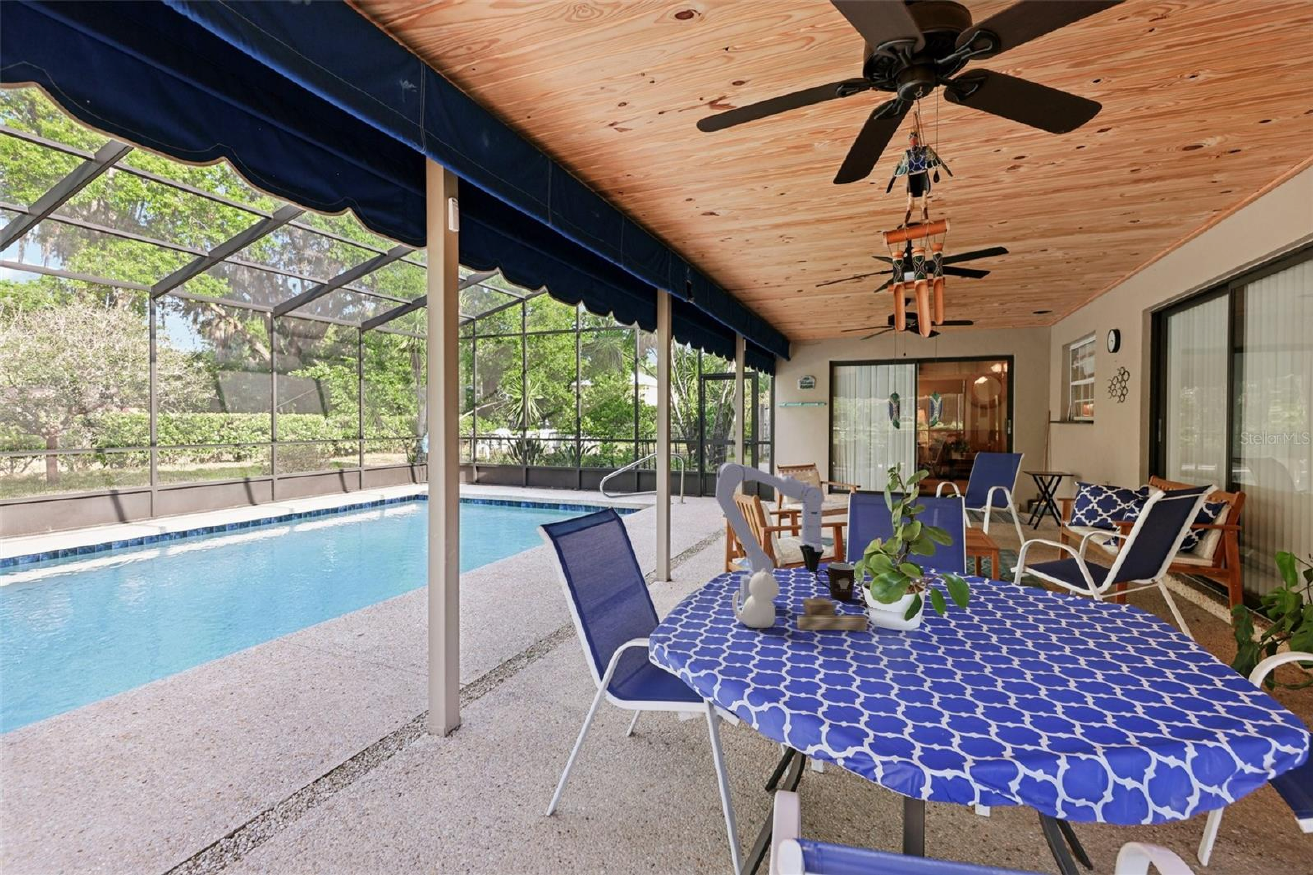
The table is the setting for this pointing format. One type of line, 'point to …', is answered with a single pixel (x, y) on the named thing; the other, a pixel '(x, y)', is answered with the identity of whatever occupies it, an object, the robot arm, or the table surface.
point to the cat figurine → (758, 601)
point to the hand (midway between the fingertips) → (811, 570)
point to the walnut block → (818, 607)
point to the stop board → (831, 622)
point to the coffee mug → (839, 581)
